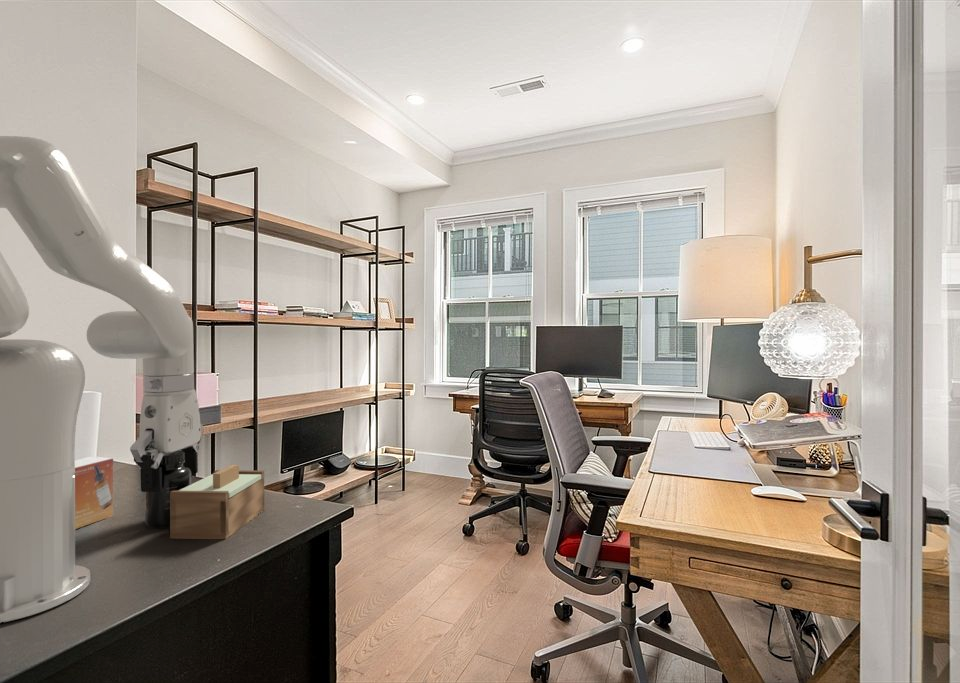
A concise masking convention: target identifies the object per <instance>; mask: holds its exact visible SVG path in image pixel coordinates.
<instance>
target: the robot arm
mask: <svg viewBox="0 0 960 683" xmlns="http://www.w3.org/2000/svg"><path fill="white" fill-rule="evenodd" d="M0 209H6V210H7V211H8V212H9V214H10V215H11V217H12V218H13V219H14V221H15V222H16V224H18V226H19V227H20V229H21V230H22V232H23V233H24V234H25V236H26V237H27V239H28V240H29V241H30V243H31V245H32V246H33V248H34V249H35V251H36V252H37V253H38V255H39V256H40V258H41V259H42V261H43V263H45V265H46V266H47V267H48V268H49V269H50V270H52V271H53V272H54V273H56V274H58V275H60V276H62V277H66V278H68V279H70V280H73V281H75V282H78V283H80V284H83V285H85V286H89V287H92V288H94V289H98V290H101V291H103V292H104V293H108V294H110V295H112V296H114V297H116V298H118V299H119V300H121V301H123V302H125V303H126V304H127V305H129V306H130V307H132V308H133V310H132V311H131V310H127V311H126V310H121V311H120V310H119V311H110V312H105V313H102V314H101V315H98V316H97V317H95V318H94V319H93V320H91V322H90V323H89V325H88V327H87V328H86V329H87V330H86V340H87V342H88V345H89V347H90V348H91V349H92V350H93V351H94V352H96V353H97V354H98V355H101V356H103V357H106V358H110V359H118V360H119V359H120V360H122V359H123V360H125V359H126V360H127V359H128V360H131V359H133V360H134V359H135V360H136V359H142V360H141V361H142V394H143V395H142V401H141V408H140V415H139V437H138V438H137V439H136V440H135V441H134V442H133V444H131V446H130V447H129V451H130V453H131V455H132V457H133V462H134V463H136V466H137V469H139V471H140V491H141V492H142V493H145V492H159V491H161V490H162V467H158V466H159V464H160V462H161V459H162V457H163V455H164V453H166V454H171V453H174V452H177V451H180V450H181V451H184V452H185V462H184V463H183V465H185V466H187V467H189V469H190V470H191V475H195V474H197V473H198V472H199V468H198V467H199V462H198V460H199V459H198V455H199V454H198V452H199V450H200V445H199V444H200V442H201V440H202V433H203V428H204V425H203V424H202V423H201V415H200V414H201V413H200V406H199V405H200V404H199V399H198V395H197V391H196V389H195V373H194V372H195V358H194V357H195V356H194V354H195V353H194V348H195V347H194V324H193V323H194V322H193V319H192V318H191V317H190V316H189V314H188V312H187V309H186V308H185V307H184V306H185V305H183V302H182V301H181V298H180V297H179V295H178V293H177V292H176V290H175V289H174V287H172V285H171V284H170V283H169V282H168V281H167V280H166V279H165V278H164V277H163V276H162V275H160V274H159V272H156V271H155V270H154V269H152V267H150V266H149V265H147V263H145V262H143V261H142V260H140V258H138V257H136V256H135V255H134V254H132V253H131V252H129V251H127V250H126V249H125V248H123V247H122V246H120V245H119V244H118V243H117V241H116V240H115V238H114V236H113V234H112V233H111V231H110V229H109V228H108V226H107V224H106V223H105V221H104V219H103V217H102V216H101V214H100V212H99V210H98V208H97V207H96V204H95V203H94V201H93V200H92V198H91V196H90V194H89V193H88V191H87V189H86V187H85V186H84V184H83V182H82V181H81V179H80V178H79V175H78V174H77V172H76V171H75V168H74V167H73V165H72V163H71V162H70V161H69V158H68V157H67V156H66V155H65V154H64V152H63V151H62V150H61V149H59V148H58V147H57V146H55V145H54V144H53V143H51V142H48V141H46V140H43V139H41V138H40V139H39V138H35V137H31V136H29V137H28V136H22V135H21V136H17V135H0ZM29 315H30V307H29V303H28V299H27V297H26V295H25V292H24V290H23V288H22V286H21V285H20V283H19V281H18V280H17V277H16V276H15V274H14V273H13V271H12V269H11V268H10V266H9V264H8V262H7V260H6V259H5V256H3V253H2V252H1V251H0V624H1V623H2V622H3V623H7V622H12V621H16V620H20V619H23V618H26V617H27V618H28V617H31V616H35V615H36V614H40V613H43V612H45V611H48V610H50V609H53V608H55V607H57V606H60V605H62V604H64V603H66V602H67V601H69V600H72V599H73V598H75V597H76V596H78V595H79V594H80V593H82V592H83V591H84V590H86V588H88V586H89V585H90V583H91V578H92V577H91V571H90V569H88V568H87V567H85V566H81V565H77V564H76V529H75V460H76V459H75V458H76V457H75V456H76V455H75V454H76V431H77V430H76V429H77V421H78V416H79V415H78V414H79V410H80V405H81V402H82V398H83V394H84V389H85V385H86V384H85V383H86V371H85V368H84V365H83V363H82V362H83V361H81V359H80V358H79V356H78V355H77V354H76V353H75V352H74V351H73V350H71V349H70V348H67V347H66V346H64V345H61V344H59V343H56V342H52V341H46V340H40V339H22V338H21V339H12V338H11V339H7V338H6V337H9V336H11V335H13V334H15V333H16V332H18V331H19V330H21V329H22V328H23V327H24V326H25V325H26V323H27V321H28V319H29ZM2 338H3V339H2ZM4 338H6V339H4ZM152 455H155V456H154V459H153V460H152V457H150V456H152Z"/></svg>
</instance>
